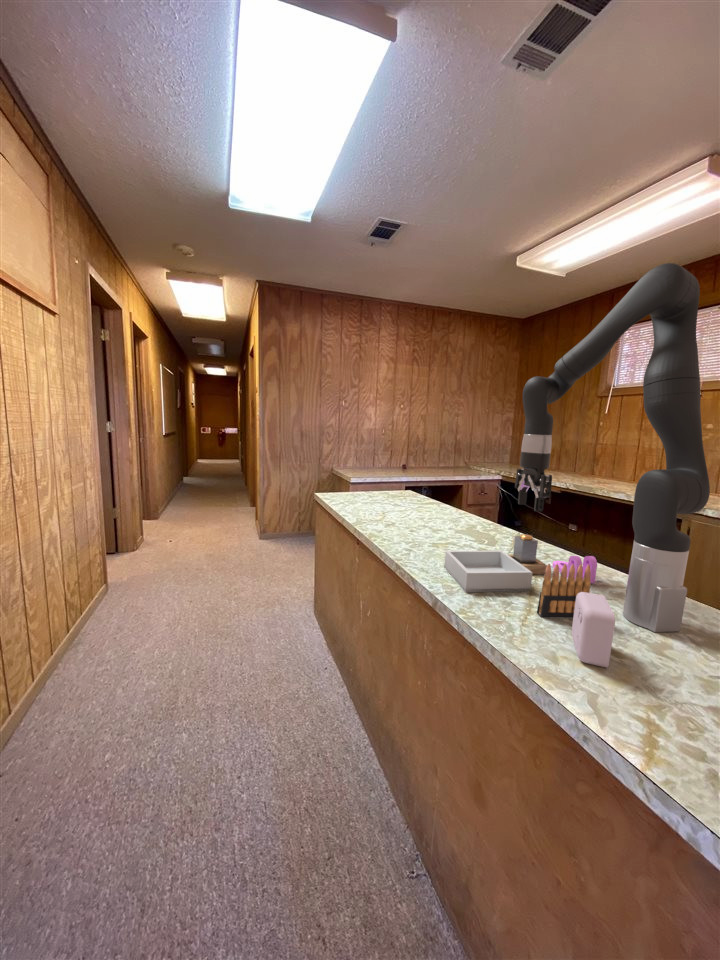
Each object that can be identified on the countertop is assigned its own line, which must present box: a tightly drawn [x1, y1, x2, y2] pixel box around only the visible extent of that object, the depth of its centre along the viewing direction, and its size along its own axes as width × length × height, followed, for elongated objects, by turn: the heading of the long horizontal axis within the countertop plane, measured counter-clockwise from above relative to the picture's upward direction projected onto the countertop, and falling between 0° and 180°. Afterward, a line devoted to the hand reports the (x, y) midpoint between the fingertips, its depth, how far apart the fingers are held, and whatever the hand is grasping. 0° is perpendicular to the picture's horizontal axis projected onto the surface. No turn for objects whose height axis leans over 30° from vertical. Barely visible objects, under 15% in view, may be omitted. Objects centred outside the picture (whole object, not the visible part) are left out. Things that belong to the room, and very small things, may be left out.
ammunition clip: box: [536, 563, 592, 619], centre depth 83 cm, size 11×2×12 cm, turn 92°
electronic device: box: [571, 592, 616, 669], centre depth 70 cm, size 10×5×10 cm, turn 159°
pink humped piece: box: [551, 555, 598, 584], centre depth 108 cm, size 13×6×7 cm, turn 2°
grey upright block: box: [512, 533, 539, 564], centre depth 110 cm, size 4×4×10 cm
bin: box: [443, 550, 533, 593], centre depth 102 cm, size 16×17×5 cm
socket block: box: [506, 553, 548, 575], centre depth 110 cm, size 9×9×2 cm
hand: (529, 507), depth 108 cm, fingers open, 8 cm apart
